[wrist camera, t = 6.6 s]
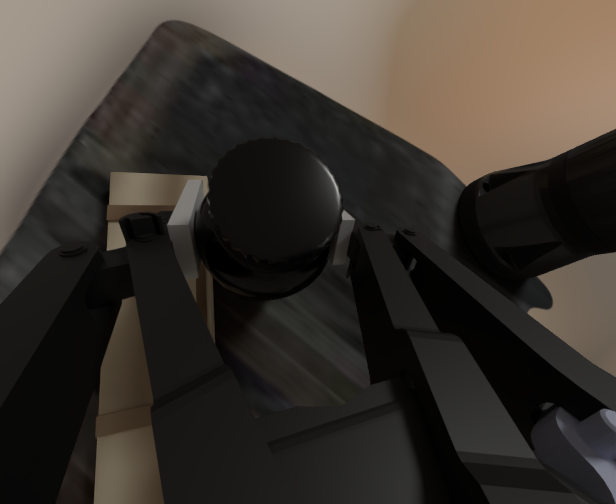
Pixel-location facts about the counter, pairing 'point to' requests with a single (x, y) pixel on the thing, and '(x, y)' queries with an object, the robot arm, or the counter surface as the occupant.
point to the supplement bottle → (268, 219)
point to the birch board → (135, 357)
